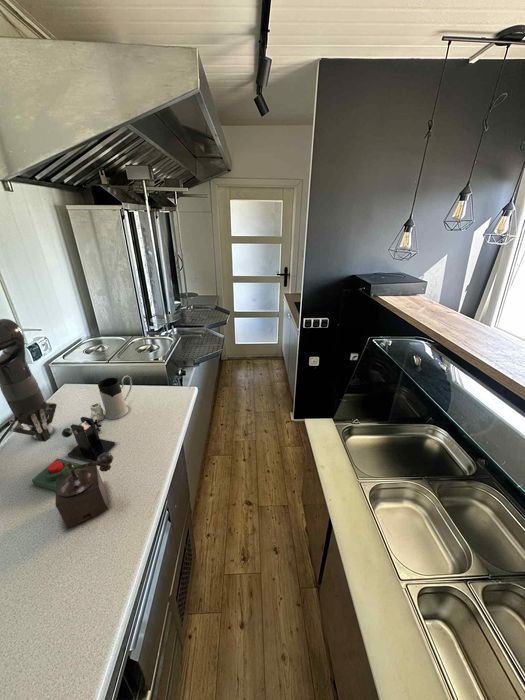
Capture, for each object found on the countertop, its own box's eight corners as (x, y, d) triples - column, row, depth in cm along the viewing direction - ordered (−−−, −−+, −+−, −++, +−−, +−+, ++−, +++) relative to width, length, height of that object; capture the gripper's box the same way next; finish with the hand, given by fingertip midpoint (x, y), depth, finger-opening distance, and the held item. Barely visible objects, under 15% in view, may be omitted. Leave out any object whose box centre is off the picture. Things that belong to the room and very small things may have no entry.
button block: (34, 485, 89) (29, 476, 87) (59, 462, 97) (55, 454, 95) (61, 493, 86) (57, 483, 85) (85, 469, 94) (82, 460, 92)
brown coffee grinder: (66, 531, 76) (41, 485, 68) (65, 500, 84) (43, 455, 76) (128, 502, 83) (112, 457, 75) (121, 475, 92) (107, 432, 84)
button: (47, 472, 89) (45, 468, 88) (57, 463, 92) (55, 459, 91) (56, 474, 88) (54, 470, 87) (66, 465, 91) (64, 461, 90)
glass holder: (101, 415, 120) (91, 385, 113) (129, 397, 131) (122, 369, 124) (114, 421, 116) (105, 390, 109) (143, 402, 127) (135, 373, 120)
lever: (63, 440, 101) (57, 433, 100) (71, 433, 104) (65, 427, 103) (84, 432, 95) (78, 424, 95) (92, 426, 98) (86, 418, 97)
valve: (91, 416, 119) (84, 436, 108) (87, 403, 116) (79, 422, 106) (109, 413, 120) (103, 432, 110) (105, 400, 118) (99, 418, 107)
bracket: (68, 456, 99) (55, 428, 94) (88, 438, 107) (78, 411, 102) (96, 463, 96) (85, 434, 91) (115, 444, 104) (106, 416, 99)
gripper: (34, 377, 85) (55, 423, 92) (-15, 404, 73) (13, 454, 81) (54, 380, 83) (73, 427, 90) (7, 408, 71) (33, 458, 79)
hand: (45, 439), depth 86 cm, fingers closed
